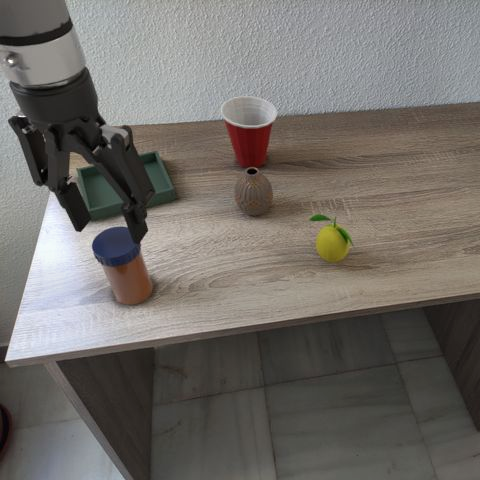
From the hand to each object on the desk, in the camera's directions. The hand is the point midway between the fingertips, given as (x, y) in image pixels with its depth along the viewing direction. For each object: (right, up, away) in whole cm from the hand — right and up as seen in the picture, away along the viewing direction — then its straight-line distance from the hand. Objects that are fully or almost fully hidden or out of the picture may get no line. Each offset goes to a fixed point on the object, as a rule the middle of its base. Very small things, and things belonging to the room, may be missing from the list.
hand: (112, 230), depth 64 cm
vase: (+16, +4, +24) cm, 29 cm away
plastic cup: (+14, +15, +34) cm, 40 cm away
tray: (-9, +8, +26) cm, 28 cm away
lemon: (+30, -5, +16) cm, 34 cm away
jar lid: (0, -2, +2) cm, 2 cm away
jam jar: (-1, -9, +9) cm, 13 cm away
